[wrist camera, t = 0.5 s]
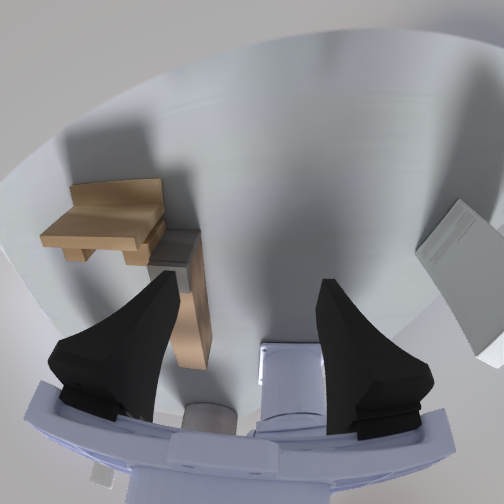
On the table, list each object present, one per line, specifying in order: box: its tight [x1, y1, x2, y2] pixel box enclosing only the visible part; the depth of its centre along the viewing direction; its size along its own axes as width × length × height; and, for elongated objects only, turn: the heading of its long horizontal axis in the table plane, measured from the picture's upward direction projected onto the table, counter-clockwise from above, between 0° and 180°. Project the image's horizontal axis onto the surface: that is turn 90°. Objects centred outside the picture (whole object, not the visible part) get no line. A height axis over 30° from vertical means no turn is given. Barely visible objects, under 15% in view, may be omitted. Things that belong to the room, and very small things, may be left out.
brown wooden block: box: [147, 229, 212, 370], centre depth 24 cm, size 14×3×5 cm, turn 179°
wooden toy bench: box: [40, 178, 167, 266], centre depth 19 cm, size 6×9×6 cm, turn 89°
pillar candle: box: [181, 403, 237, 435], centre depth 37 cm, size 10×10×15 cm
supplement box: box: [415, 199, 504, 369], centre depth 17 cm, size 7×7×13 cm
